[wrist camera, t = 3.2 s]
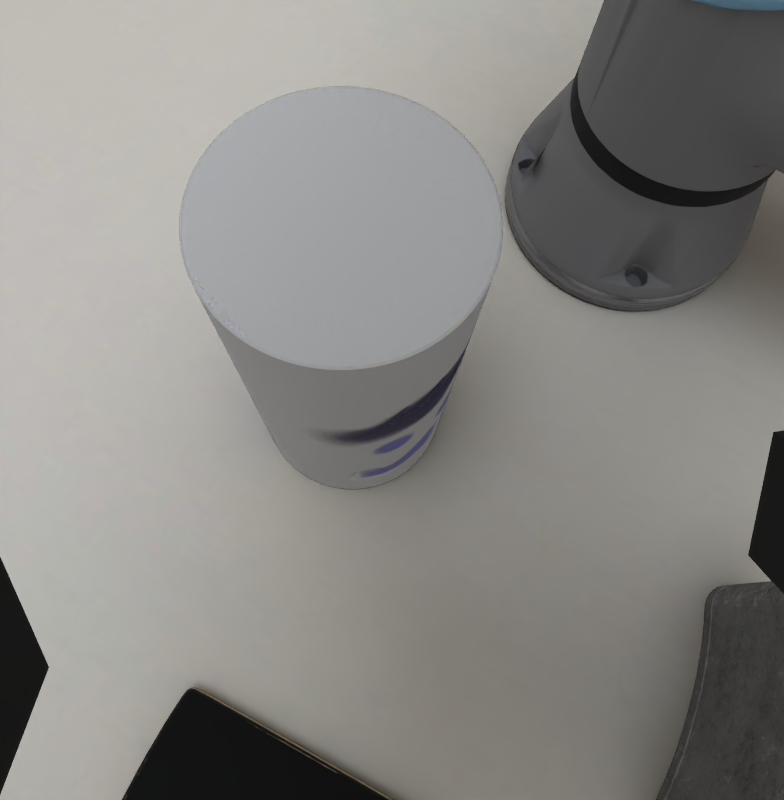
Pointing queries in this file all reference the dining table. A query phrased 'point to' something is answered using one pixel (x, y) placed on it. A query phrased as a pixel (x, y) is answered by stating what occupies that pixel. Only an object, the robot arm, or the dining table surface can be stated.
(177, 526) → the dining table surface
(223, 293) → the container
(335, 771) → the smartphone
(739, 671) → the flask
